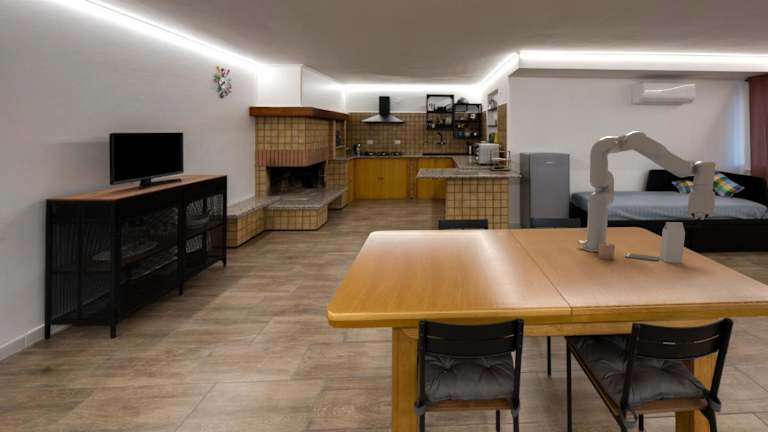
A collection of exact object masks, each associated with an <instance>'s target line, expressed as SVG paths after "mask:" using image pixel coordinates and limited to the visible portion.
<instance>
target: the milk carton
mask: <svg viewBox="0 0 768 432" xmlns="http://www.w3.org/2000/svg"><path fill="white" fill-rule="evenodd" d="M685 235H686V231H685V227H684V222H680V221H679V222H677V221H675V222H674V221H672V222H671V221H666V222H665V225H664V227H663V228H662V234H661V243H660V245H661V246H660V253H659V260H661V261H663V262H664V263H678V264H682V263H683V257H684V249H685V247H684V245H685V239H686V238H685Z"/></svg>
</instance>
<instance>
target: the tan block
mask: <svg viewBox="0 0 768 432" xmlns="http://www.w3.org/2000/svg"><path fill="white" fill-rule="evenodd" d="M615 249H616V244H614V243H609V242H606V243H600V244H599V252H598V256H597V257H598V259H599V260H603V261H613V260H615V252H616V251H615Z"/></svg>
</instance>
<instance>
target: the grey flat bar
mask: <svg viewBox="0 0 768 432" xmlns="http://www.w3.org/2000/svg"><path fill="white" fill-rule="evenodd" d="M624 258H626V259H635V260H643V261H649V262H658V261H659V260H660V256H656V255H655V256H654V255H647V254H638V253H630V252H627V254H625V256H624Z"/></svg>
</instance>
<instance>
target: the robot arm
mask: <svg viewBox="0 0 768 432" xmlns="http://www.w3.org/2000/svg"><path fill="white" fill-rule="evenodd" d="M626 151H627V152H628V151H634V152H636V153H638V154H640V155H641V156H643V157H645V158H646V159H647V160H650V161H652V162H653V163H655V164H656V165H658V166H659V167H661V168H663V170H666V171H667V172H669V173H671V174H672V175H674V176H676V177H679V178H686V177H693V184H690V185H689V187H688V189H692V190H690V192H689V194H688V195H689V196H688V199H687V200H688V201H687V205H686V208H687V210H686V212H685V214H686V215H689V216H692V218H694V219H695V220H694V226H695V229H701V227H703V225H704V220H705V219H706V218H708V217H714V216H715V204H716V194H715V191H713V190H714V182H715V172H716V163H715V161H708V160H707V161H706V160H704V161H703V160H702V161H701V160H700V161H699V160H698V161H697V160H696V161H695V160H686V159H683V158H681V157H679V156H677V155H676V154H674V153H673V152H671V150H670V151H669V149H668V148H667V147H666V146H665V145H664V144H662V143H661V142H658V141H656V140H654V139H653V138H651V137H649V136H647V134H646V133H645V132H643V131H636V130H635V131H631V132H629V133H627V134H622V135H617V136H605V137H602V138H600V139H599V140H597V141H596V142H595V143H594V144H593V145H592V147H591V149H590V154H589V182H590V185H591V187H592V188H594V192H592V193H591V194H590V195H589V196H588V199H587V225H586V238H585V240H577V244H578V245H581V246H582V245H583V246H582V250H584V251H587V252H593V253H599V244H600V243H607V231H608V217H609V215H608V214H609V212H608V209H609V208H608V207H610V206H611V205H612V204H613V203H614V199H615V198H614V197H615V180H614V179H615V178H614V175H613V173H612V172H611V171H610V170H609V160H608V159H609V158H608V155H610V154H616V153H621V152H626ZM699 214H701V217H700V218H699Z"/></svg>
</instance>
